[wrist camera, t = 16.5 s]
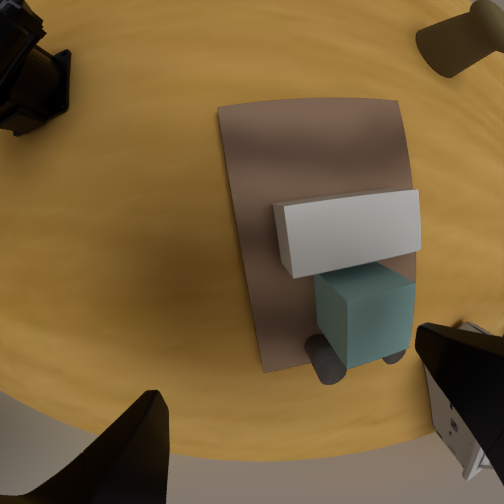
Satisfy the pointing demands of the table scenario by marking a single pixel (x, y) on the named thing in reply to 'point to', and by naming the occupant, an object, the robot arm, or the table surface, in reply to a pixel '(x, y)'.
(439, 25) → the olive pepper mill
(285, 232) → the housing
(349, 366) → the block
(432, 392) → the stereo radio cassette player
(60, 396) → the table surface
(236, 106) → the board
